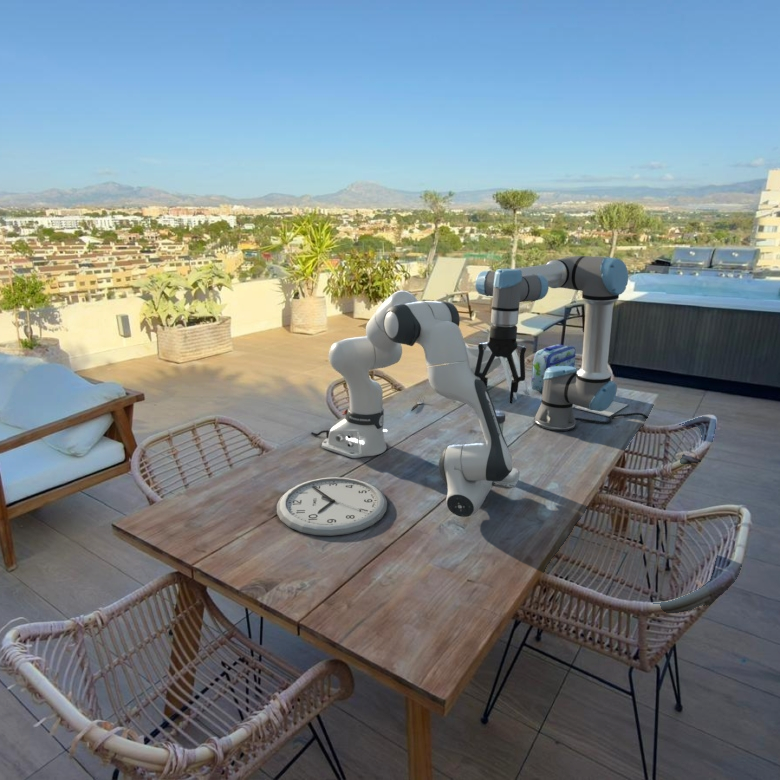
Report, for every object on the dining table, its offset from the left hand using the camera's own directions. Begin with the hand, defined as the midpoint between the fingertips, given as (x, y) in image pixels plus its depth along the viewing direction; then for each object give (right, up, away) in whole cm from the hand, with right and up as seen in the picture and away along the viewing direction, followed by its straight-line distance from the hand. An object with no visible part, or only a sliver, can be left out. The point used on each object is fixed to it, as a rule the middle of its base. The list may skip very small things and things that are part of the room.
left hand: (489, 461), depth 157 cm
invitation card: (+62, +14, +69) cm, 94 cm away
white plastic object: (+12, +20, +86) cm, 89 cm away
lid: (+2, +14, 0) cm, 14 cm away
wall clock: (-46, -10, -14) cm, 49 cm away
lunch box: (+47, +22, +93) cm, 106 cm away
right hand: (+2, +18, -1) cm, 18 cm away
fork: (-18, +14, +65) cm, 69 cm away
